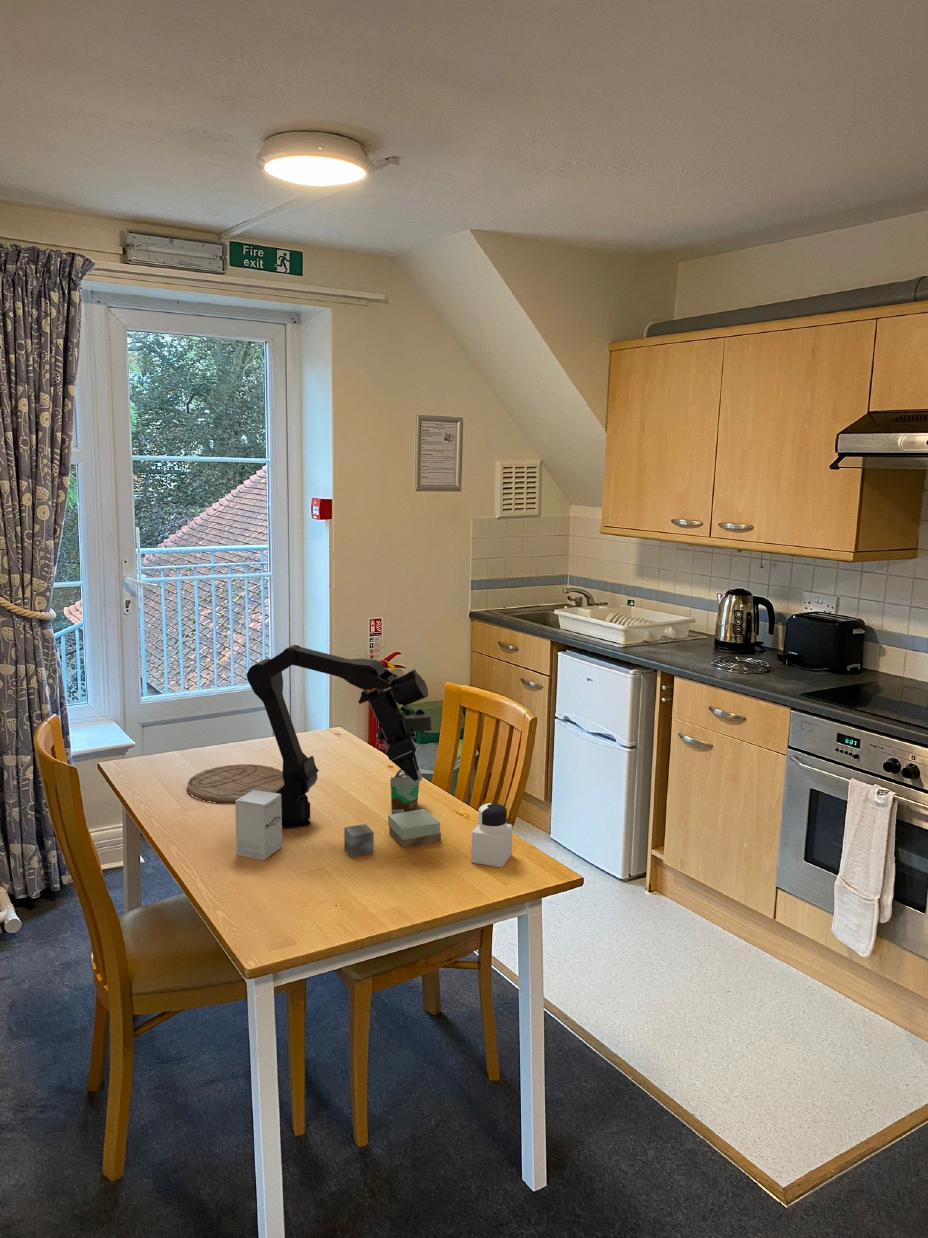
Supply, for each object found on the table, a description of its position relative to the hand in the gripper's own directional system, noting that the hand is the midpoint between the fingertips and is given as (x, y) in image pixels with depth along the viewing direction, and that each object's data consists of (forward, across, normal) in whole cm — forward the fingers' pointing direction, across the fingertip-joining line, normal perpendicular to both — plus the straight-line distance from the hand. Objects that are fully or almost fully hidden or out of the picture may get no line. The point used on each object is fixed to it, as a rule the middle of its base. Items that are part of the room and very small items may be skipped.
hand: (416, 775), depth 211 cm
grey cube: (+8, -7, +18) cm, 21 cm away
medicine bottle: (+21, -12, -8) cm, 25 cm away
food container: (+11, +16, +7) cm, 21 cm away
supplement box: (-1, -7, +37) cm, 38 cm away
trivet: (-10, +33, +47) cm, 58 cm away
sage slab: (+11, 0, +6) cm, 12 cm away
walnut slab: (+13, 0, +7) cm, 15 cm away
